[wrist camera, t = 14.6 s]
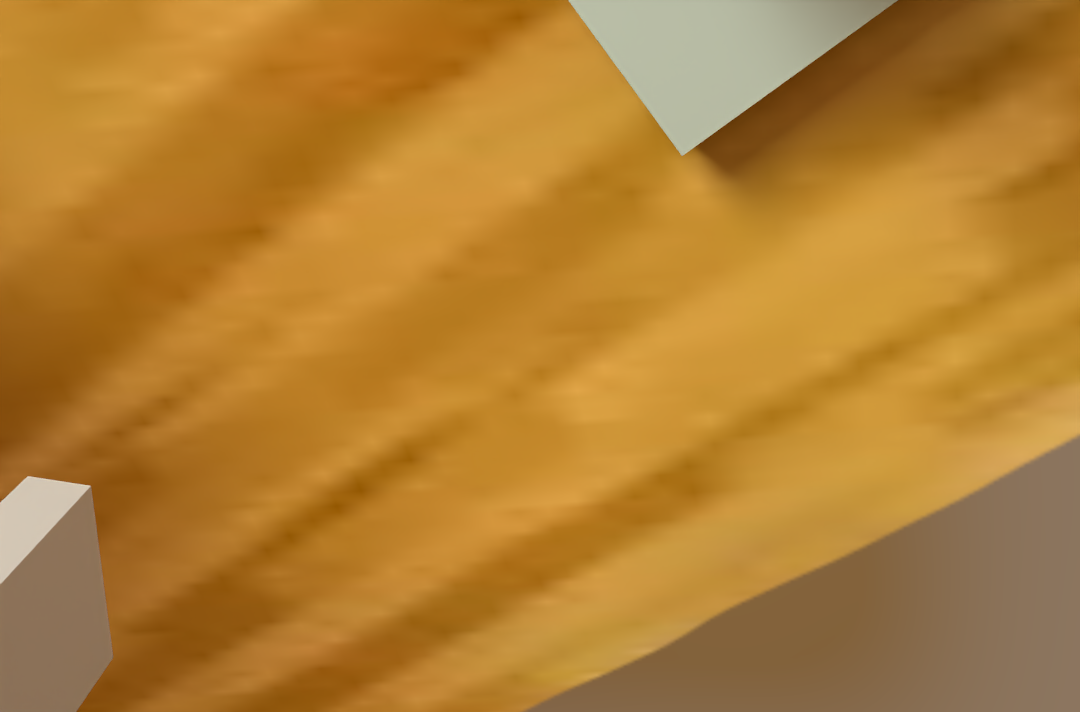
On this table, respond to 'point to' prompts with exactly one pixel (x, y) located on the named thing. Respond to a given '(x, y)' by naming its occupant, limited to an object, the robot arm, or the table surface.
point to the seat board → (716, 52)
